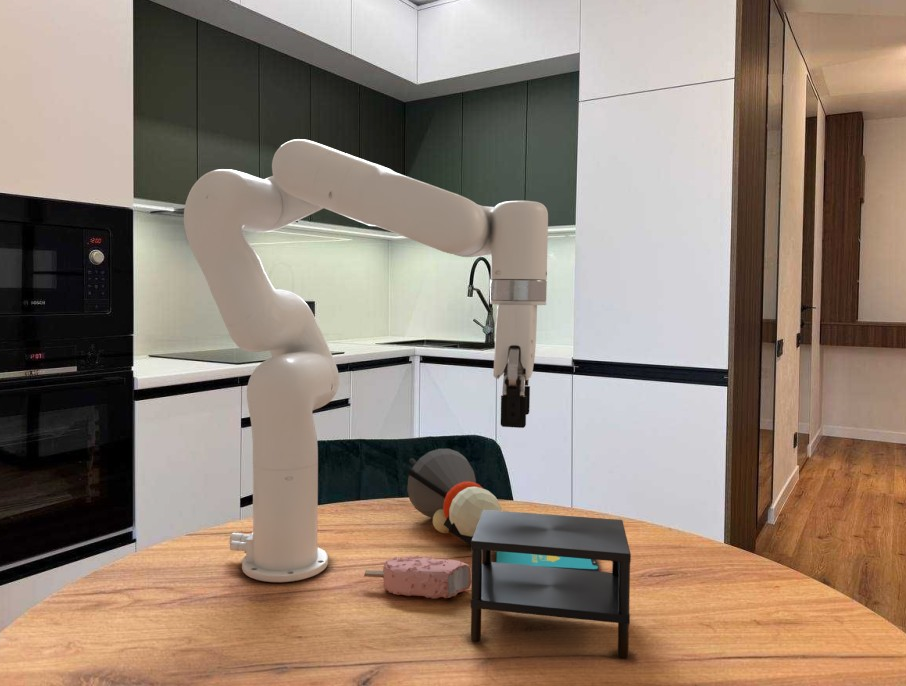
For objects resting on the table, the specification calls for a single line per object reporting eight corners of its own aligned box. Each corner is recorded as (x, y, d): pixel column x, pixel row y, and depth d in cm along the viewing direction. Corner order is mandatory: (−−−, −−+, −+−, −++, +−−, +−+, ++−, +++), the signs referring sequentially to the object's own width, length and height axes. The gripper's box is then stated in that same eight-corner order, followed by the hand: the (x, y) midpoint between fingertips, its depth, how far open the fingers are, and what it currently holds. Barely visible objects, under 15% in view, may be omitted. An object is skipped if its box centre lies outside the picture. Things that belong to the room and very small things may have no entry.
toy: (368, 476, 133) (421, 538, 105) (401, 417, 134) (463, 462, 106) (439, 512, 138) (507, 580, 110) (470, 455, 140) (546, 508, 112)
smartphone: (496, 545, 110) (593, 550, 108) (496, 550, 110) (593, 555, 108) (495, 564, 103) (599, 569, 101) (495, 569, 103) (599, 575, 101)
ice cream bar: (369, 551, 100) (472, 555, 97) (370, 580, 100) (472, 586, 97) (359, 566, 93) (468, 572, 91) (359, 598, 93) (468, 604, 91)
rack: (470, 641, 82) (471, 540, 81) (482, 597, 94) (483, 509, 93) (629, 659, 78) (630, 554, 78) (620, 611, 90) (622, 519, 89)
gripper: (496, 293, 103) (494, 408, 103) (483, 293, 86) (480, 431, 86) (547, 294, 101) (545, 410, 102) (544, 294, 84) (541, 434, 85)
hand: (515, 420), depth 94 cm, fingers open, 9 cm apart
